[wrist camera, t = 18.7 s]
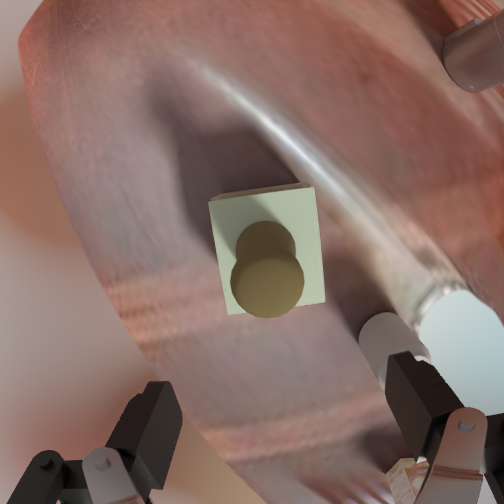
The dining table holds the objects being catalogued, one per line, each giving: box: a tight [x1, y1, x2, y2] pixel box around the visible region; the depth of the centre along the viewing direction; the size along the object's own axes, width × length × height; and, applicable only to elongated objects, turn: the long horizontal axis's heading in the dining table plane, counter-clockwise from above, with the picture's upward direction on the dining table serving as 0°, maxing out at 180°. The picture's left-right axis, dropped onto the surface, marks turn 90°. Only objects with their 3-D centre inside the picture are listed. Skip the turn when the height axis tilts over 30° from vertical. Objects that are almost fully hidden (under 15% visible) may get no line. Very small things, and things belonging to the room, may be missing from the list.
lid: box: [208, 187, 325, 315], centre depth 31 cm, size 12×10×1 cm
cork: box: [230, 221, 305, 318], centre depth 25 cm, size 6×6×11 cm
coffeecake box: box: [385, 458, 429, 504], centre depth 42 cm, size 15×7×20 cm, turn 73°
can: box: [359, 312, 431, 390], centre depth 36 cm, size 8×8×12 cm
